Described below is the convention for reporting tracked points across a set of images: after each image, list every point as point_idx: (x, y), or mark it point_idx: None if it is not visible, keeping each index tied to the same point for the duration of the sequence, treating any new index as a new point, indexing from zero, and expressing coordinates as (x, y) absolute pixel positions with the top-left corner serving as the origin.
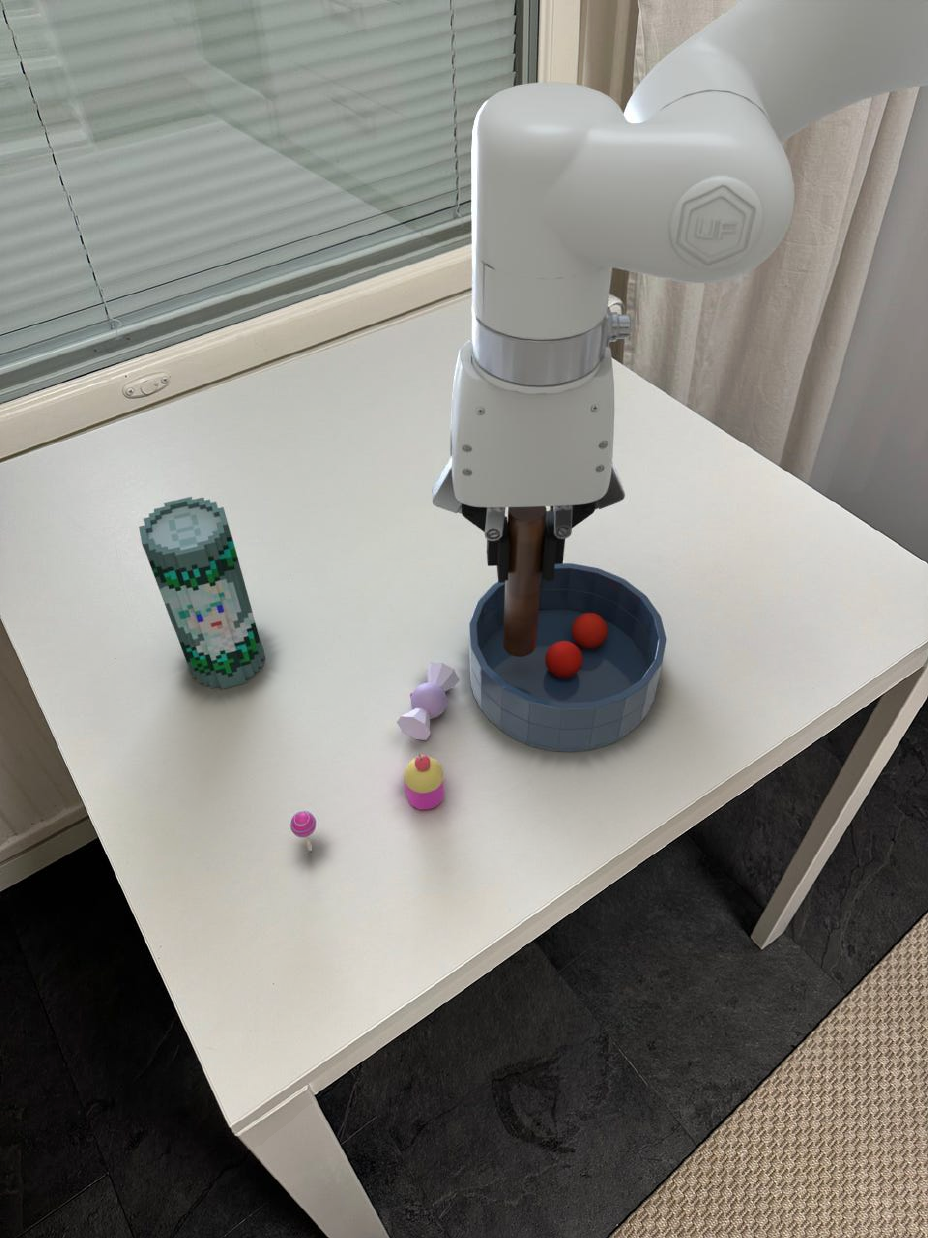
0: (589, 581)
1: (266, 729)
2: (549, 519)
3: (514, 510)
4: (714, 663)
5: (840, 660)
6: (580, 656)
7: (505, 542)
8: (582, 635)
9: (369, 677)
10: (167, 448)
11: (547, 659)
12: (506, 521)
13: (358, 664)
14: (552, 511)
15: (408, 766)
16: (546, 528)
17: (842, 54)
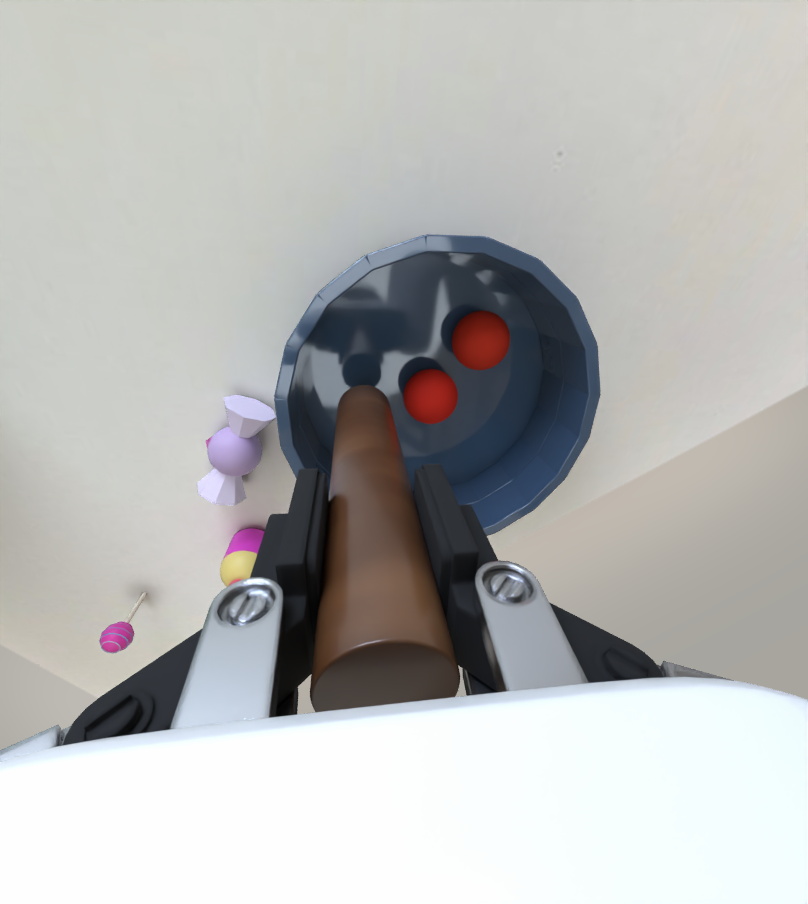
0: (510, 268)
1: (14, 463)
2: (460, 640)
3: (335, 705)
4: (626, 372)
5: (774, 373)
6: (455, 406)
7: (311, 673)
8: (467, 364)
9: (137, 379)
10: None
11: (406, 405)
12: (314, 590)
13: (109, 352)
14: (479, 631)
15: (222, 577)
16: (444, 608)
17: None
